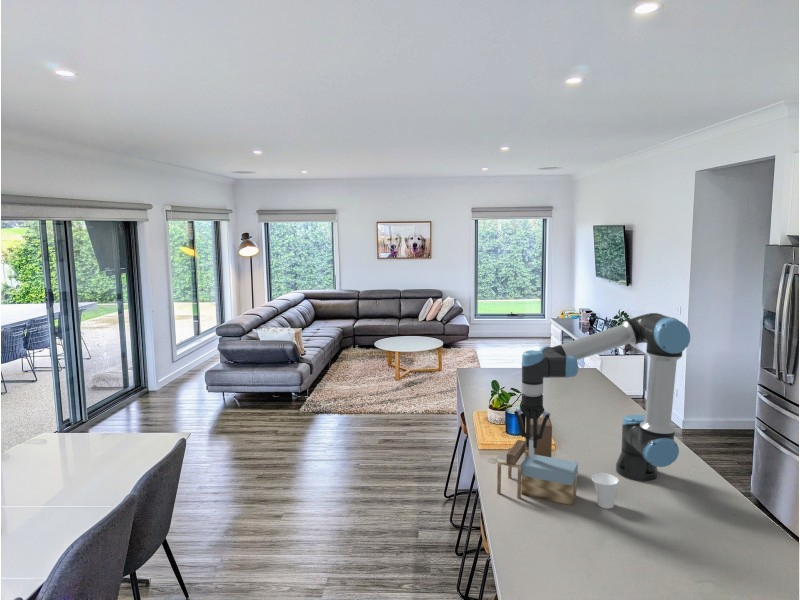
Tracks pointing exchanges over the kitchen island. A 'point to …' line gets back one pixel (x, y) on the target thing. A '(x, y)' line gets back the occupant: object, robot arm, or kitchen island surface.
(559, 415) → the kitchen island surface
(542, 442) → the wooden block
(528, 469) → the lid
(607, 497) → the cup
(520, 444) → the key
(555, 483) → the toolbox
